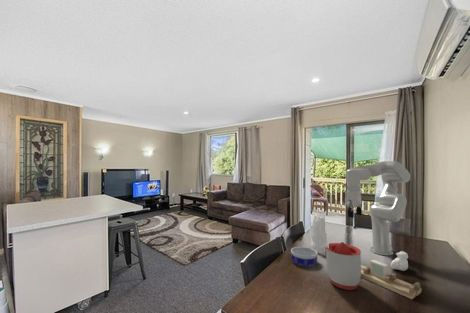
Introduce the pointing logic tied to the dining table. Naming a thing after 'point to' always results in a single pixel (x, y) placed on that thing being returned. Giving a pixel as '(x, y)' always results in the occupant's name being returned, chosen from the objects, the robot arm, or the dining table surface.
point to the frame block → (379, 269)
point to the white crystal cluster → (319, 234)
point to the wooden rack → (392, 283)
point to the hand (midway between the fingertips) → (355, 216)
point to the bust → (400, 261)
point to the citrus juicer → (343, 265)
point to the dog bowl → (304, 256)
